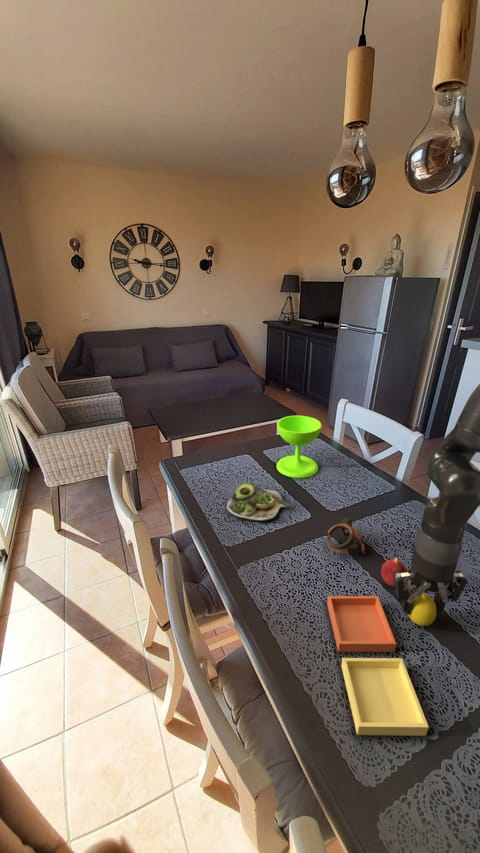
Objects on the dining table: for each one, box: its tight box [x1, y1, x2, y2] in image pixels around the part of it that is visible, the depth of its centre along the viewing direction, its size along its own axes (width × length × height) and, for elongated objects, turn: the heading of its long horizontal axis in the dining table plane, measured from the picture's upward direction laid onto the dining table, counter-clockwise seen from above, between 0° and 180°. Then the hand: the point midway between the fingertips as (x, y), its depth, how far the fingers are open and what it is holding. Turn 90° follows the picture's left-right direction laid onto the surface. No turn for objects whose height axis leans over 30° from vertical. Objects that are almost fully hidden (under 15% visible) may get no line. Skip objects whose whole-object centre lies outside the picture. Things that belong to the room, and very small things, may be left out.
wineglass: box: [276, 415, 322, 479], centre depth 135 cm, size 16×16×18 cm
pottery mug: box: [326, 517, 366, 556], centre depth 98 cm, size 12×10×8 cm
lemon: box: [408, 592, 437, 627], centre depth 76 cm, size 6×6×8 cm
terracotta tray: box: [326, 595, 397, 653], centre depth 77 cm, size 11×11×2 cm
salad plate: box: [225, 482, 290, 522], centre depth 116 cm, size 19×18×5 cm
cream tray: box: [341, 657, 430, 737], centre depth 64 cm, size 11×11×2 cm
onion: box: [380, 557, 408, 588], centre depth 85 cm, size 6×6×8 cm
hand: (421, 610), depth 76 cm, fingers closed on lemon, 5 cm apart
